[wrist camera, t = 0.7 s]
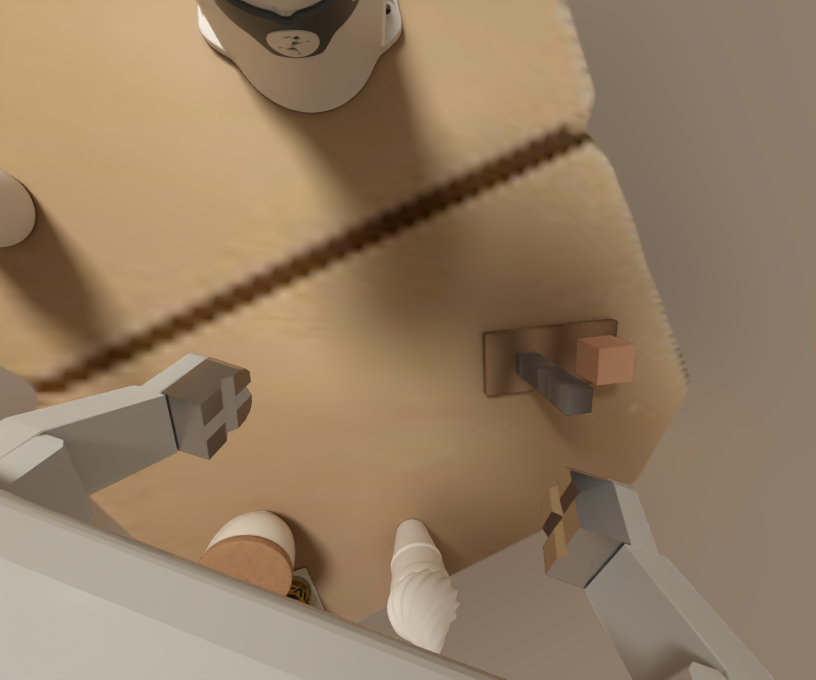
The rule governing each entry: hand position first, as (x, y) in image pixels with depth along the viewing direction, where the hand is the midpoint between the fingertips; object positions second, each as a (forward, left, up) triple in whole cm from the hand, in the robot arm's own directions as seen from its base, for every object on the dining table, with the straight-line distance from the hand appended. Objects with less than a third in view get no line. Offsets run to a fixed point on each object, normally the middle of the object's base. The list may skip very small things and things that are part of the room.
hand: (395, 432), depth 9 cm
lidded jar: (+31, -18, -35) cm, 50 cm away
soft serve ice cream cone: (+35, +2, -35) cm, 50 cm away
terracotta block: (+11, +27, -33) cm, 45 cm away
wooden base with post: (+11, +22, -35) cm, 43 cm away
